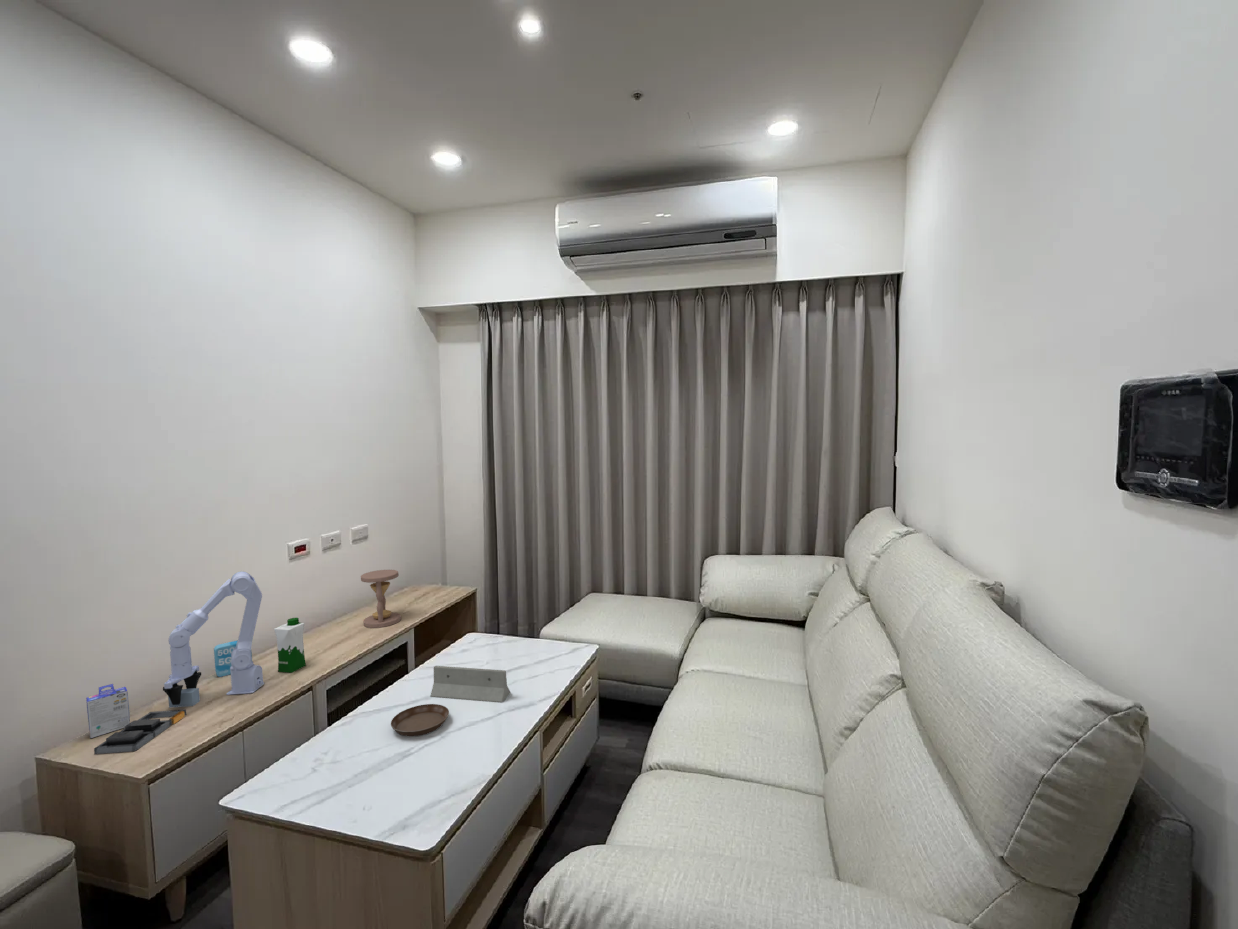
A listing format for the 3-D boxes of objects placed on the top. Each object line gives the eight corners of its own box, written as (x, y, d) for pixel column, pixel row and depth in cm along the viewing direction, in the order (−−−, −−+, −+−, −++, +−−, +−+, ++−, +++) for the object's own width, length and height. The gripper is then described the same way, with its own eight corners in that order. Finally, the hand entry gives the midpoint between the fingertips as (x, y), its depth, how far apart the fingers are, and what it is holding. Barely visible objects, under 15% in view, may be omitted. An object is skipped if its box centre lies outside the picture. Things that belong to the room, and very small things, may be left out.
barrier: (510, 693, 195) (509, 666, 195) (502, 703, 188) (500, 675, 188) (441, 688, 201) (439, 662, 201) (430, 697, 194) (428, 670, 194)
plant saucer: (392, 718, 181) (391, 709, 180) (447, 707, 187) (447, 699, 187) (389, 746, 164) (389, 736, 164) (451, 733, 170) (450, 724, 170)
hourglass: (370, 617, 285) (367, 570, 283) (405, 615, 287) (402, 568, 285) (358, 629, 267) (355, 579, 266) (395, 626, 269) (392, 577, 268)
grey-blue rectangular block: (199, 701, 197) (198, 688, 197) (192, 706, 193) (191, 692, 193) (176, 703, 196) (175, 689, 196) (169, 708, 193) (168, 694, 192)
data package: (216, 678, 216) (214, 648, 216) (215, 674, 220) (213, 645, 219) (252, 668, 224) (250, 640, 223) (251, 665, 227) (249, 637, 227)
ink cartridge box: (129, 720, 184) (125, 679, 184) (131, 726, 181) (127, 683, 180) (88, 733, 177) (84, 689, 176) (90, 739, 173) (86, 695, 173)
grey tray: (187, 714, 187) (187, 704, 187) (136, 751, 166) (135, 740, 165) (150, 716, 186) (149, 707, 186) (94, 754, 165) (93, 743, 164)
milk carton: (309, 665, 226) (306, 617, 225) (291, 674, 217) (288, 625, 216) (292, 663, 228) (288, 616, 227) (273, 672, 219) (270, 624, 218)
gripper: (183, 654, 201) (186, 690, 202) (153, 671, 186) (156, 710, 187) (204, 653, 201) (206, 689, 202) (175, 670, 187) (178, 708, 188)
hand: (184, 699), depth 195 cm, fingers open, 7 cm apart
